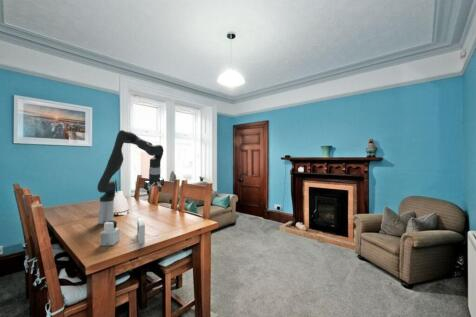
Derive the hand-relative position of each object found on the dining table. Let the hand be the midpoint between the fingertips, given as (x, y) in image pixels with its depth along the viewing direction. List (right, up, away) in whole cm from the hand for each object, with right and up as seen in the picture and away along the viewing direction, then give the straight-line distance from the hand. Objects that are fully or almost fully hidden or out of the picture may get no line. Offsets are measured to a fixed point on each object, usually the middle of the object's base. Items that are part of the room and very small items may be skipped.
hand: (154, 192), depth 156 cm
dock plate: (-2, -26, -19) cm, 32 cm away
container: (-16, -26, -27) cm, 41 cm away
